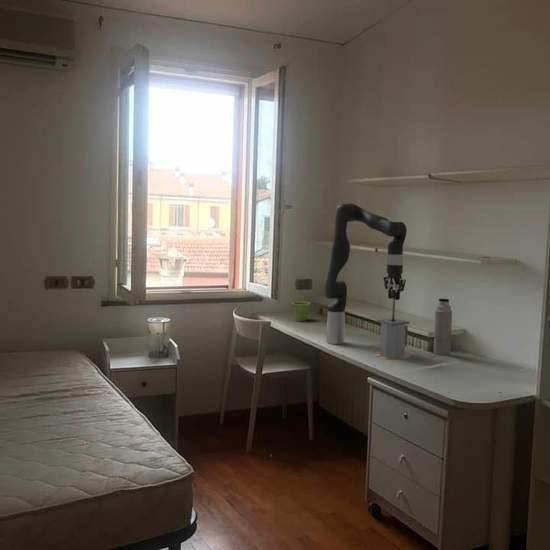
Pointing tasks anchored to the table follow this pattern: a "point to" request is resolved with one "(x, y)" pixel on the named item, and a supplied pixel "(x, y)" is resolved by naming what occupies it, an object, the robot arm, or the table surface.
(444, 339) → the thermos bottle
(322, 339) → the table surface
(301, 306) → the plant pot
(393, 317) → the plunger
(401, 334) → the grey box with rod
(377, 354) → the trivet
